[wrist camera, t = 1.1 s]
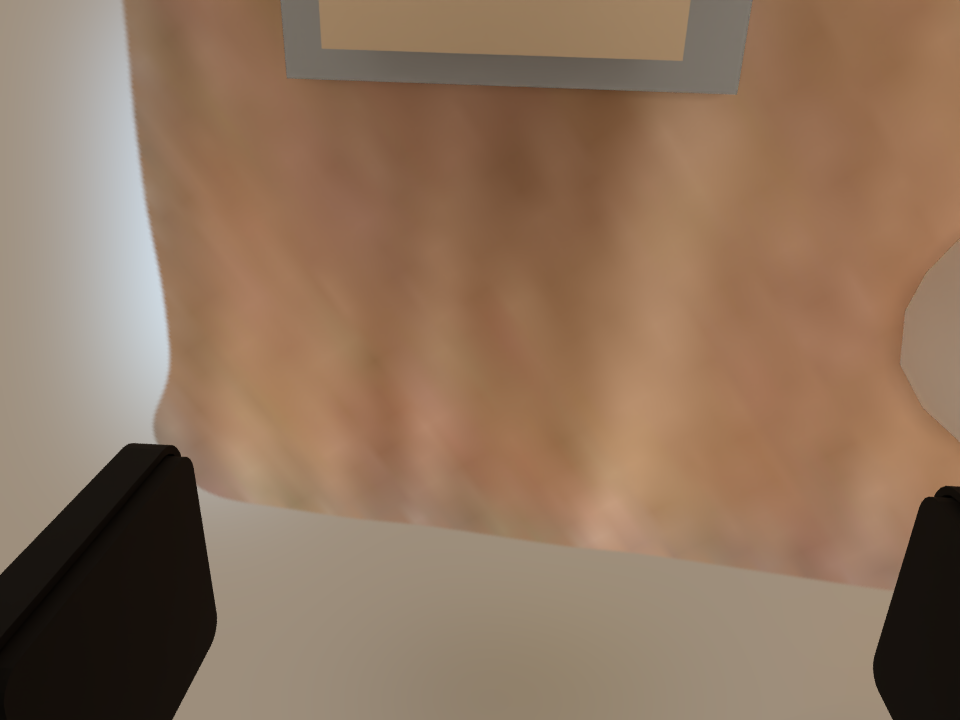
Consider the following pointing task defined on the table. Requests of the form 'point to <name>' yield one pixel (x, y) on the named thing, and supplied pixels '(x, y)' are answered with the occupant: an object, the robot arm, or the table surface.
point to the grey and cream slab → (533, 58)
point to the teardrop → (936, 341)
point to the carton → (510, 27)
